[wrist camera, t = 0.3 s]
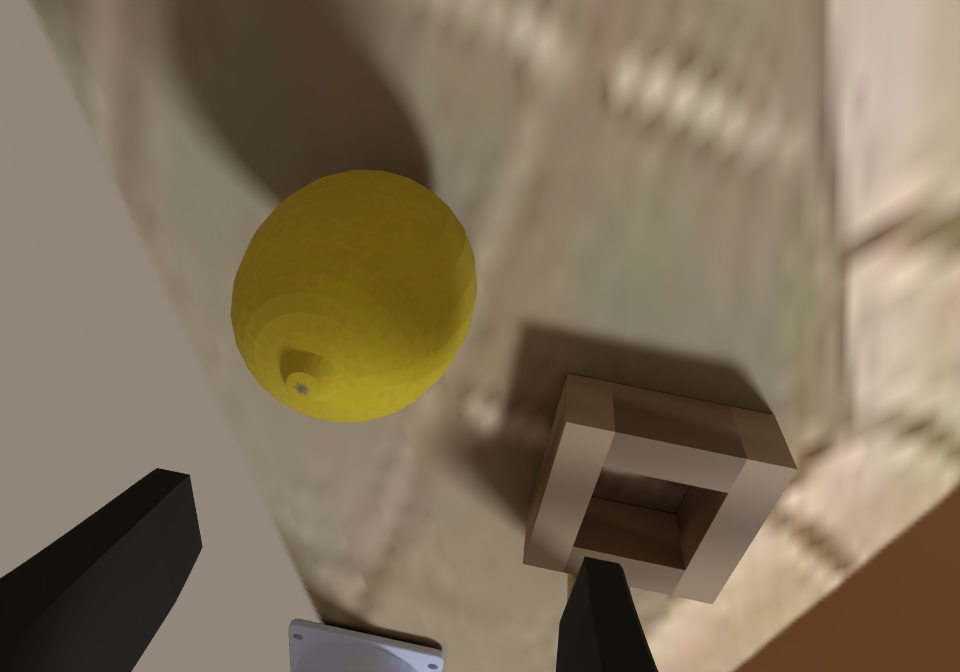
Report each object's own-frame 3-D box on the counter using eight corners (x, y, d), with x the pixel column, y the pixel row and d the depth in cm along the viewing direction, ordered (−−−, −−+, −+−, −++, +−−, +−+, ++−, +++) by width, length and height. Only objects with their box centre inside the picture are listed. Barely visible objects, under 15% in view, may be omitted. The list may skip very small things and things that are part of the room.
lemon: (277, 188, 18) (101, 329, 11) (431, 97, 16) (328, 202, 9) (379, 330, 20) (284, 516, 14) (525, 266, 18) (497, 448, 12)
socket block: (700, 546, 24) (712, 604, 22) (527, 510, 24) (522, 563, 22) (774, 415, 20) (797, 469, 18) (567, 373, 20) (566, 422, 18)
